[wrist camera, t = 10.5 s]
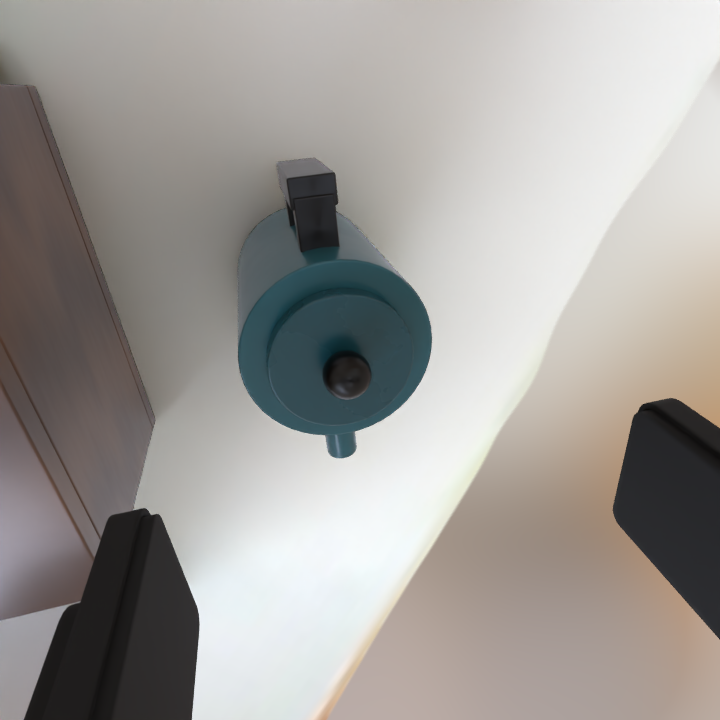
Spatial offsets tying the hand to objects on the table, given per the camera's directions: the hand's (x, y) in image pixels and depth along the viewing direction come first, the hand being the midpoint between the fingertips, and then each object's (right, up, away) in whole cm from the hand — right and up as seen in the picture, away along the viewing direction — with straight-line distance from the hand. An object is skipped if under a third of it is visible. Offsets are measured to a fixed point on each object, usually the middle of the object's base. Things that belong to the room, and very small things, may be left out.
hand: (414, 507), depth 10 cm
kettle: (-3, +7, +12) cm, 14 cm away
